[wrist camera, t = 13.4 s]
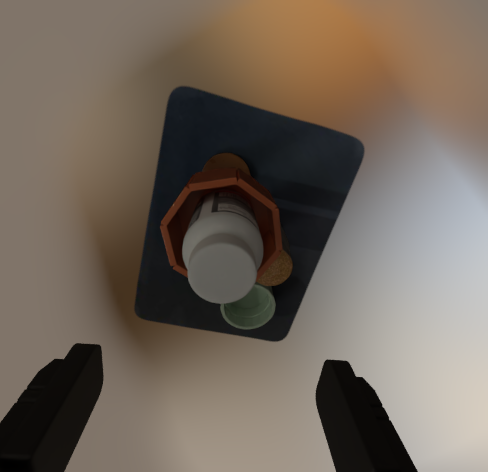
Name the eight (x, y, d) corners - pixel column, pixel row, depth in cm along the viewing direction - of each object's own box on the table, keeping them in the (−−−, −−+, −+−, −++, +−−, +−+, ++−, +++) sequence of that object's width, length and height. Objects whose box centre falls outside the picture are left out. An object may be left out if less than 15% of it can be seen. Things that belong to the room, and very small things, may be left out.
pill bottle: (215, 256, 27) (207, 327, 18) (181, 208, 25) (153, 261, 16) (266, 227, 26) (285, 287, 17) (235, 175, 24) (238, 212, 15)
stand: (220, 142, 41) (214, 160, 24) (259, 172, 42) (279, 208, 26) (193, 181, 43) (169, 224, 26) (231, 209, 44) (232, 264, 28)
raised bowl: (212, 146, 24) (207, 154, 19) (291, 206, 26) (304, 226, 21) (157, 226, 26) (141, 250, 21) (234, 275, 28) (235, 306, 24)
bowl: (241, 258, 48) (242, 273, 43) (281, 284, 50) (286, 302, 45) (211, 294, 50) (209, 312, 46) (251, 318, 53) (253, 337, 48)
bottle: (272, 199, 44) (292, 237, 30) (280, 233, 46) (302, 283, 33) (235, 209, 44) (238, 251, 31) (245, 242, 47) (252, 296, 33)
